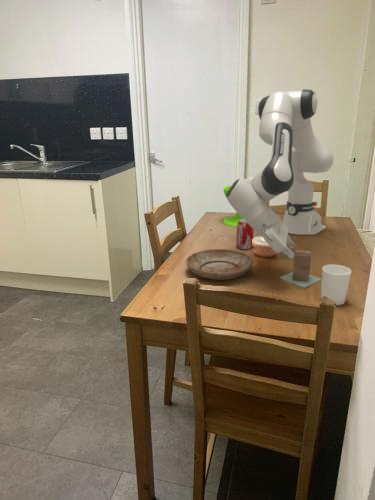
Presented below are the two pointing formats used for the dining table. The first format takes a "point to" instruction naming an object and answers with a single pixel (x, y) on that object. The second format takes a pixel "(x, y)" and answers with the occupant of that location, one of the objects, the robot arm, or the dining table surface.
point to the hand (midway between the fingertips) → (293, 251)
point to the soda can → (244, 235)
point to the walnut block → (301, 265)
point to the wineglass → (231, 220)
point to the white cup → (335, 282)
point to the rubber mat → (300, 283)
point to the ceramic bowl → (219, 263)
